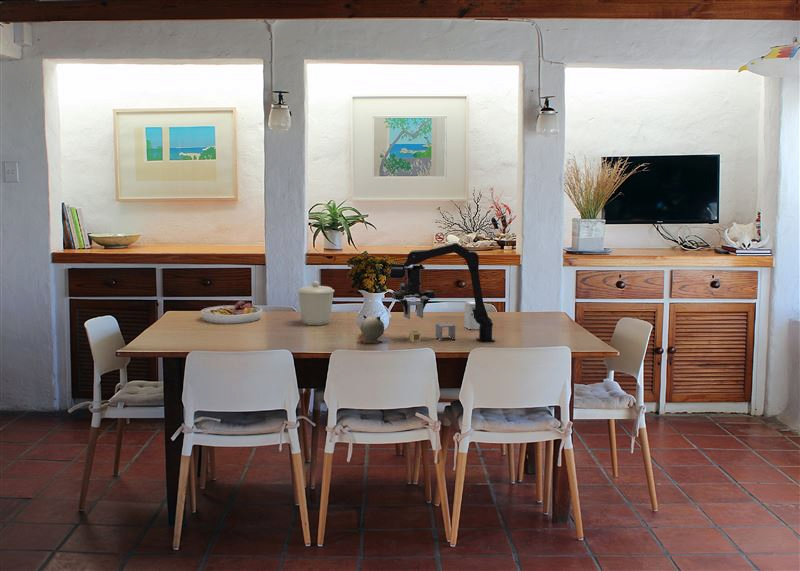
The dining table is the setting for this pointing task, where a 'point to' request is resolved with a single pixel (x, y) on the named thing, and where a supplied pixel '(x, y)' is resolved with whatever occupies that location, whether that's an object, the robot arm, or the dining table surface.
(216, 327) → the dining table surface
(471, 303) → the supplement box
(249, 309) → the bowl
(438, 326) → the cover
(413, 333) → the letter cube
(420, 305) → the cover
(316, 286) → the canister
